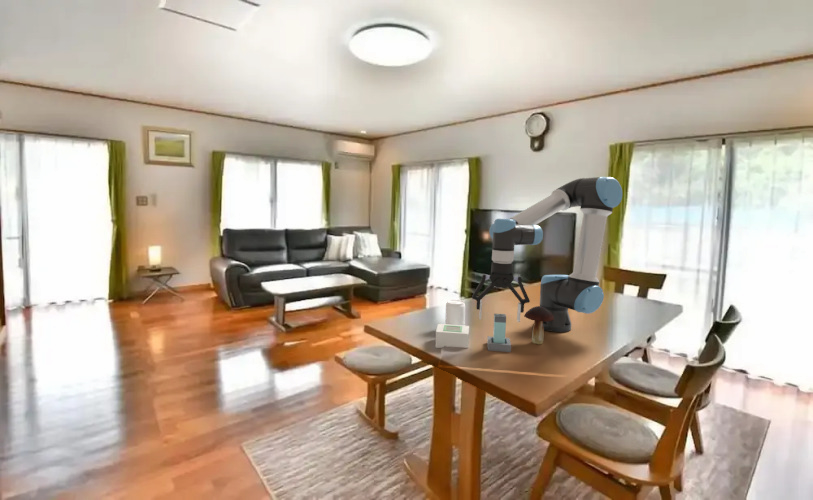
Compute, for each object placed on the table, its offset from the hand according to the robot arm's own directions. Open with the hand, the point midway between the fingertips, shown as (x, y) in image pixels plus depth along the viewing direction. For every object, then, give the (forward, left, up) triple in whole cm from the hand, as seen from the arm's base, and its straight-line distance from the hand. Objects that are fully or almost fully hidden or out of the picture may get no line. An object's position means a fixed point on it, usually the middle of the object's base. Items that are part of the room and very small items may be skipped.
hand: (499, 319), depth 145 cm
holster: (0, 0, -11) cm, 11 cm away
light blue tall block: (0, 0, -10) cm, 10 cm away
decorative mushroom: (-15, -8, -11) cm, 21 cm away
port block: (+17, -2, -11) cm, 20 cm away
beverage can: (+17, -20, -11) cm, 29 cm away
